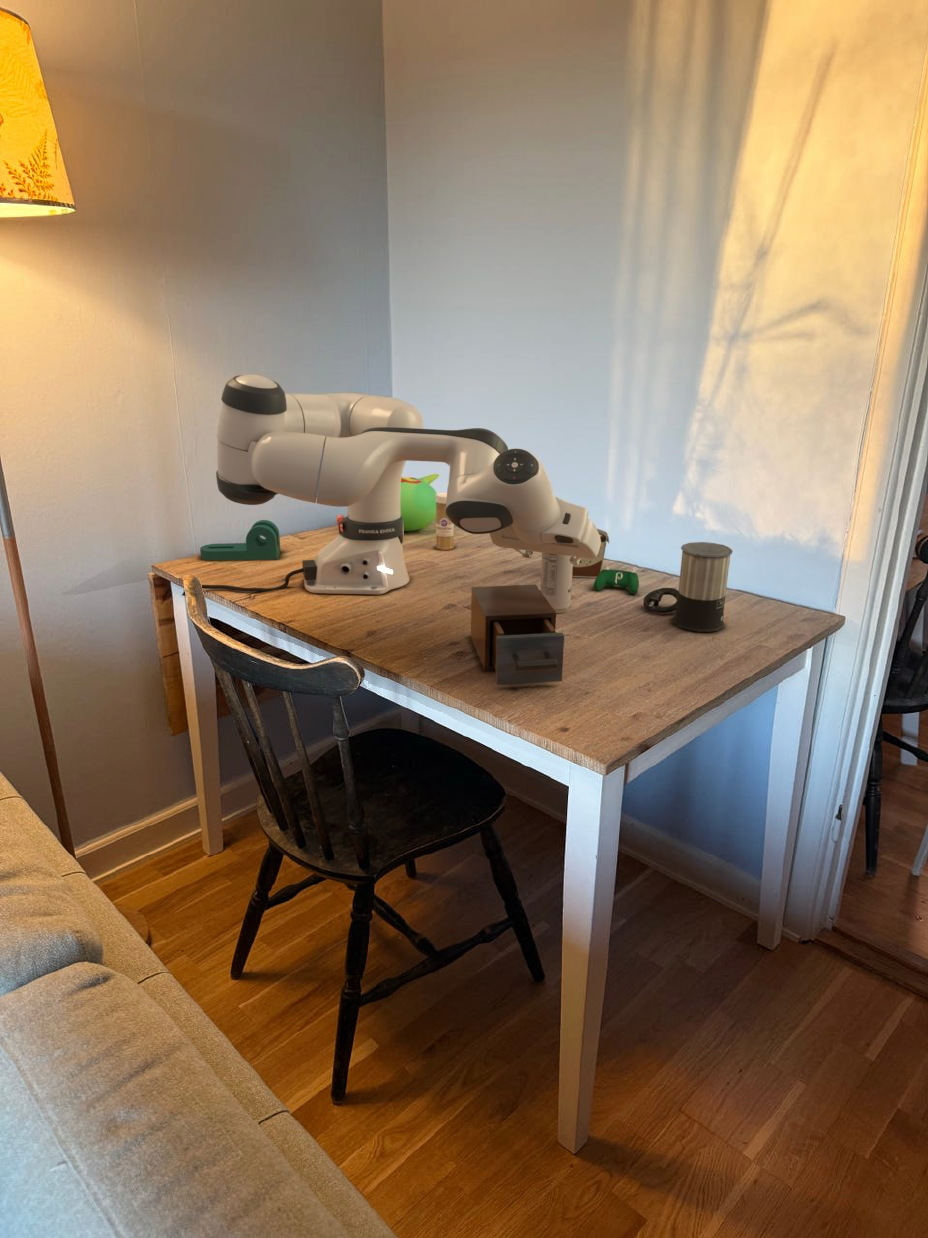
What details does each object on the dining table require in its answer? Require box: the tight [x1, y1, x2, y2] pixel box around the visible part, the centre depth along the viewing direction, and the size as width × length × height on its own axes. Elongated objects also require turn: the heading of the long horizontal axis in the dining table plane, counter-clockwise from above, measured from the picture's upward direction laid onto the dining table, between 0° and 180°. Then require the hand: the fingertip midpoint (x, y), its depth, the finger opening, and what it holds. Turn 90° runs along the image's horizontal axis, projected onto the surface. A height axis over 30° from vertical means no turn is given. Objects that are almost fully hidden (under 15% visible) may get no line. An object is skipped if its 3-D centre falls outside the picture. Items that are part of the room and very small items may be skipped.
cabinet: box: [470, 584, 557, 672], centre depth 141 cm, size 15×12×10 cm
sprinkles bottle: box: [435, 492, 455, 551], centre depth 201 cm, size 5×5×14 cm
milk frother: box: [643, 541, 733, 633], centre depth 156 cm, size 14×16×15 cm
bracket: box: [199, 519, 282, 562], centre depth 194 cm, size 18×7×8 cm, turn 95°
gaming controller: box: [593, 565, 640, 595], centre depth 174 cm, size 9×4×6 cm
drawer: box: [490, 618, 565, 686], centre depth 131 cm, size 18×10×8 cm, turn 8°
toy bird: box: [400, 473, 440, 532], centre depth 217 cm, size 18×17×15 cm
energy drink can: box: [539, 552, 573, 614], centre depth 160 cm, size 6×6×15 cm
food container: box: [572, 528, 610, 579], centre depth 183 cm, size 12×6×10 cm, turn 84°
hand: (551, 557), depth 156 cm, fingers open, 8 cm apart
